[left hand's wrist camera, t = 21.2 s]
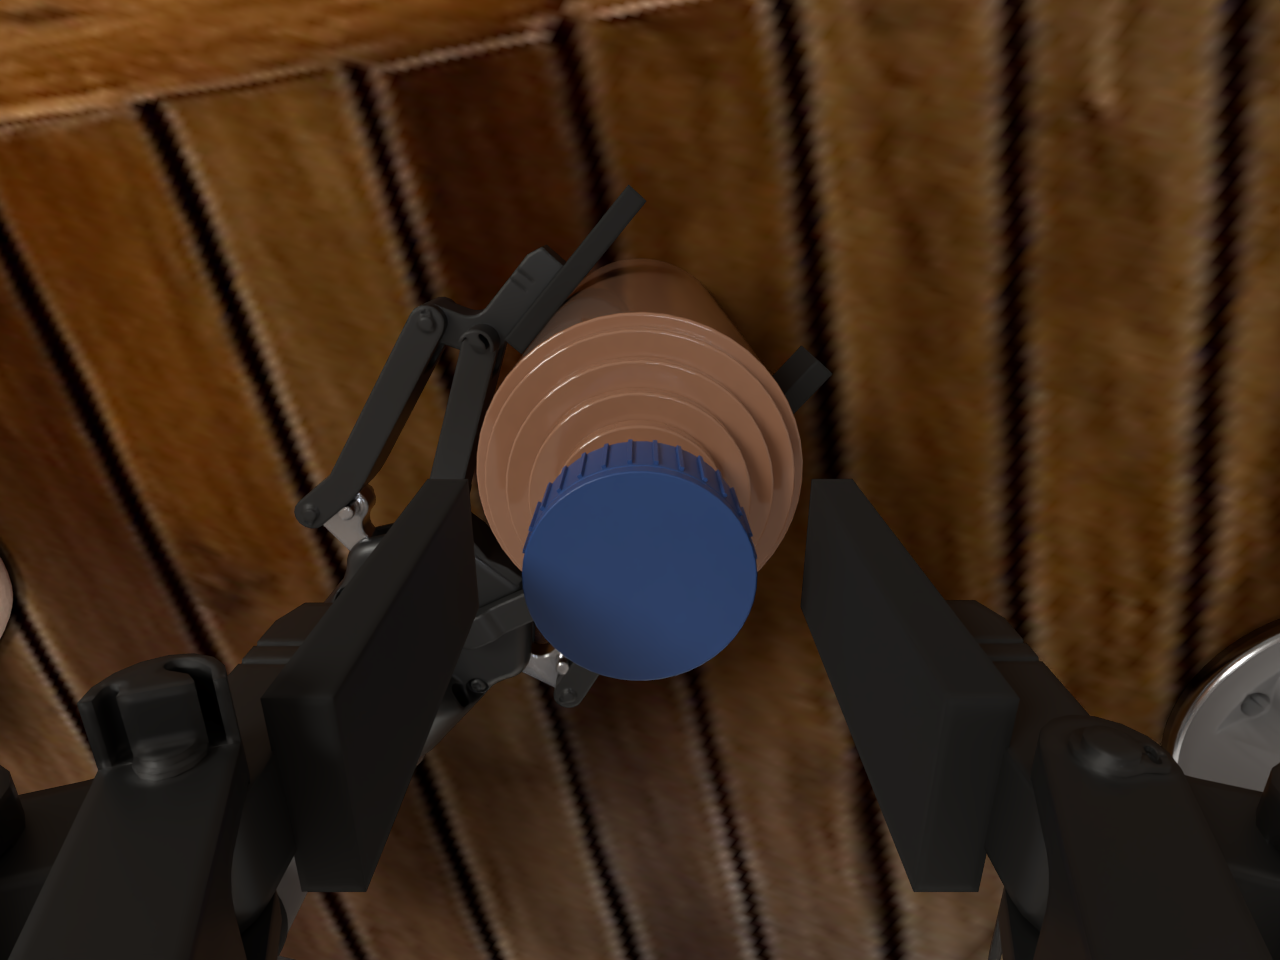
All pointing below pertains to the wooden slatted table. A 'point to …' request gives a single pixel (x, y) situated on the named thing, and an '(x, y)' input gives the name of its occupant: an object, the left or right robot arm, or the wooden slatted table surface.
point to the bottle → (639, 400)
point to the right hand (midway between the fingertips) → (729, 279)
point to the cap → (639, 562)
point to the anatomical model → (5, 597)
